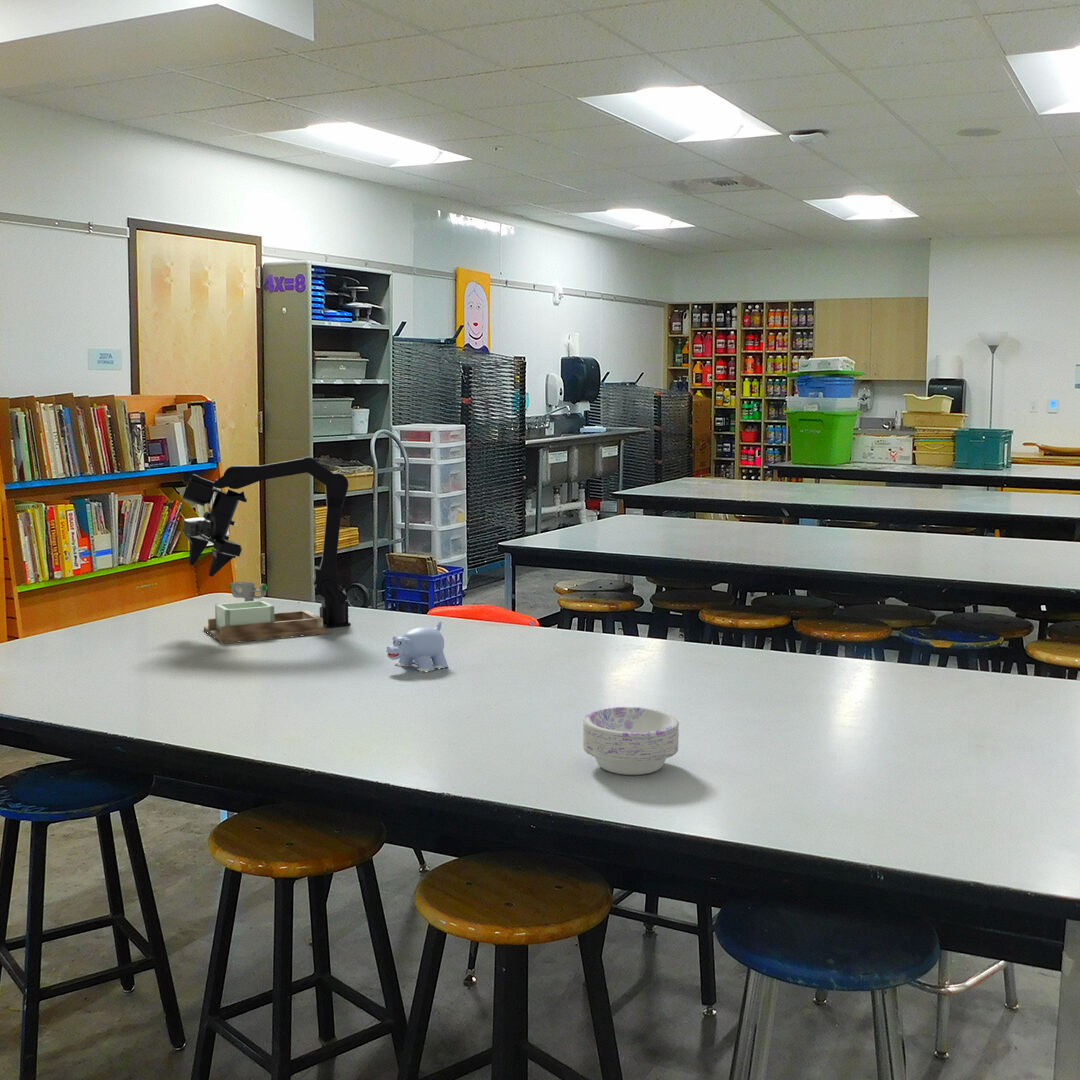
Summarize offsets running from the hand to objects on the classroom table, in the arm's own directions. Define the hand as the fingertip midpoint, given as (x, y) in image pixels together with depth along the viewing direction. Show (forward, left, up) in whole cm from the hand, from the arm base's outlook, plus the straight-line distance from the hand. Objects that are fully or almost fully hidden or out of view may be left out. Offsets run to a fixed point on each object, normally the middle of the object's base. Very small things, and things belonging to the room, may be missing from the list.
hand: (200, 570), depth 290 cm
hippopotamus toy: (-31, +65, -15) cm, 73 cm away
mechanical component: (-14, -6, -15) cm, 22 cm away
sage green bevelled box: (-8, +11, -14) cm, 19 cm away
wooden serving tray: (-13, +11, -15) cm, 23 cm away
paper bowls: (-33, +145, -15) cm, 149 cm away
